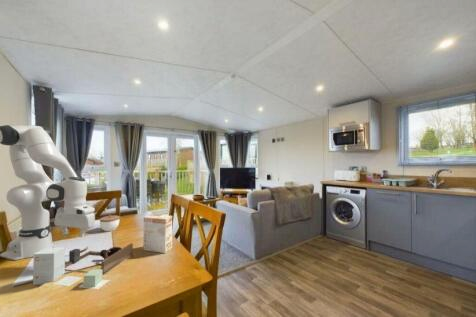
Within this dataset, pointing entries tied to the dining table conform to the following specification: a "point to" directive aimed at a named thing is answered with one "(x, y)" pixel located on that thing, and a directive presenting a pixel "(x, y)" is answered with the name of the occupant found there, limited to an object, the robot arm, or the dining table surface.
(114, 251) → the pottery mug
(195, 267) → the dining table surface
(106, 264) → the sled strip
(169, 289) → the dining table surface
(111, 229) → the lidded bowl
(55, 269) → the small box
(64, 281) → the broken strip
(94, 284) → the sage cube
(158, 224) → the coffeecake box
